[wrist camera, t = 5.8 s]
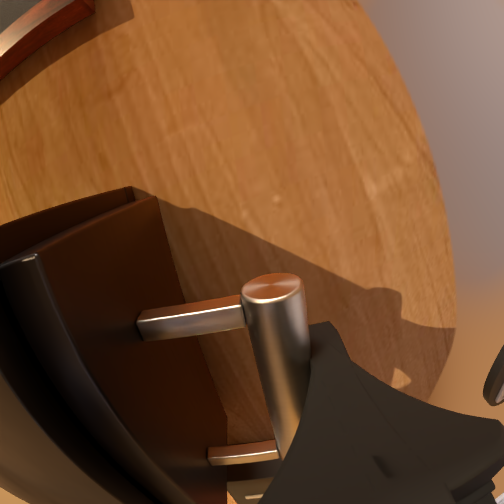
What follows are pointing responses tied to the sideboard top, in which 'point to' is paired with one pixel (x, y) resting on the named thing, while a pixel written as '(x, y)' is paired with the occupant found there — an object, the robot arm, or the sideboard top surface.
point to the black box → (41, 399)
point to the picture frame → (34, 26)
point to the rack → (152, 351)
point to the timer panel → (251, 479)
